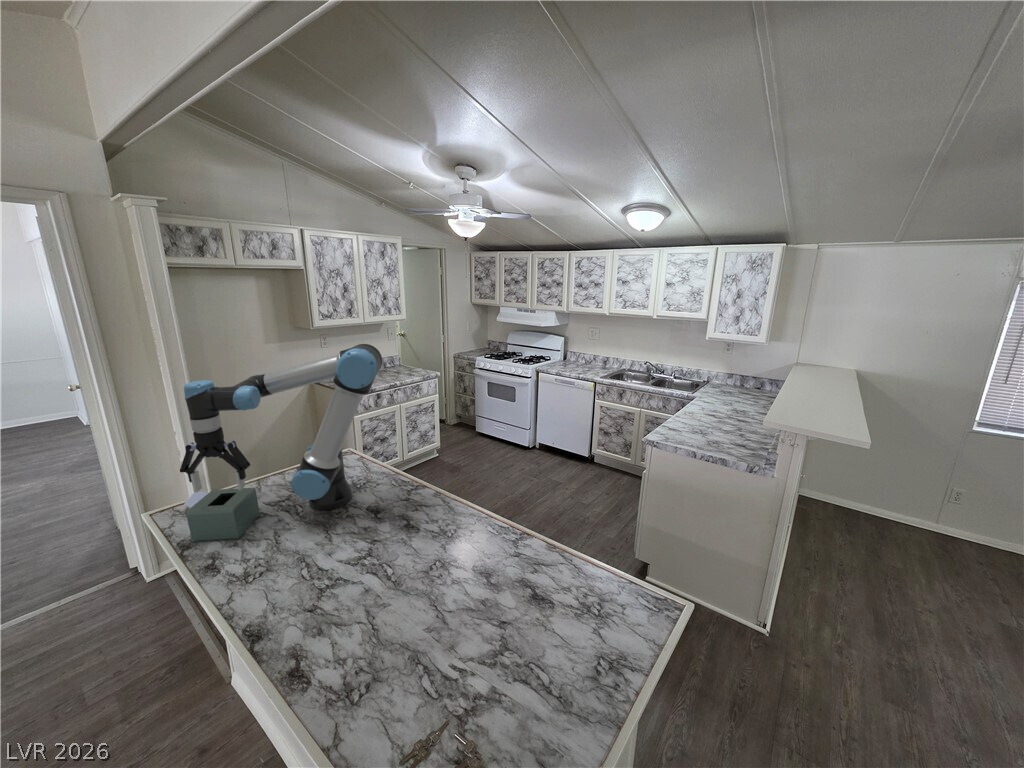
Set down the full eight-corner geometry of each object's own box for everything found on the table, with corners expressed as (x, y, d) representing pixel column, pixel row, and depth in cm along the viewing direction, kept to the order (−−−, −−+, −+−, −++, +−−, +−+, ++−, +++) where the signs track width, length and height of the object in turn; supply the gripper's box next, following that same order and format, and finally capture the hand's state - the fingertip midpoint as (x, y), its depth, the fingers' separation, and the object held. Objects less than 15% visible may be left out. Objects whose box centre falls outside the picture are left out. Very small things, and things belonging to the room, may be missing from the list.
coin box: (260, 515, 144) (255, 487, 141) (238, 539, 130) (232, 509, 127) (218, 517, 142) (212, 489, 139) (192, 542, 129) (185, 512, 126)
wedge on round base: (185, 513, 145) (206, 522, 140) (181, 496, 144) (202, 504, 138) (212, 500, 153) (233, 509, 148) (208, 485, 151) (229, 492, 146)
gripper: (255, 423, 132) (265, 481, 137) (173, 426, 129) (187, 485, 135) (242, 431, 125) (254, 492, 130) (156, 435, 122) (171, 497, 128)
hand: (220, 489), depth 133 cm, fingers open, 13 cm apart
